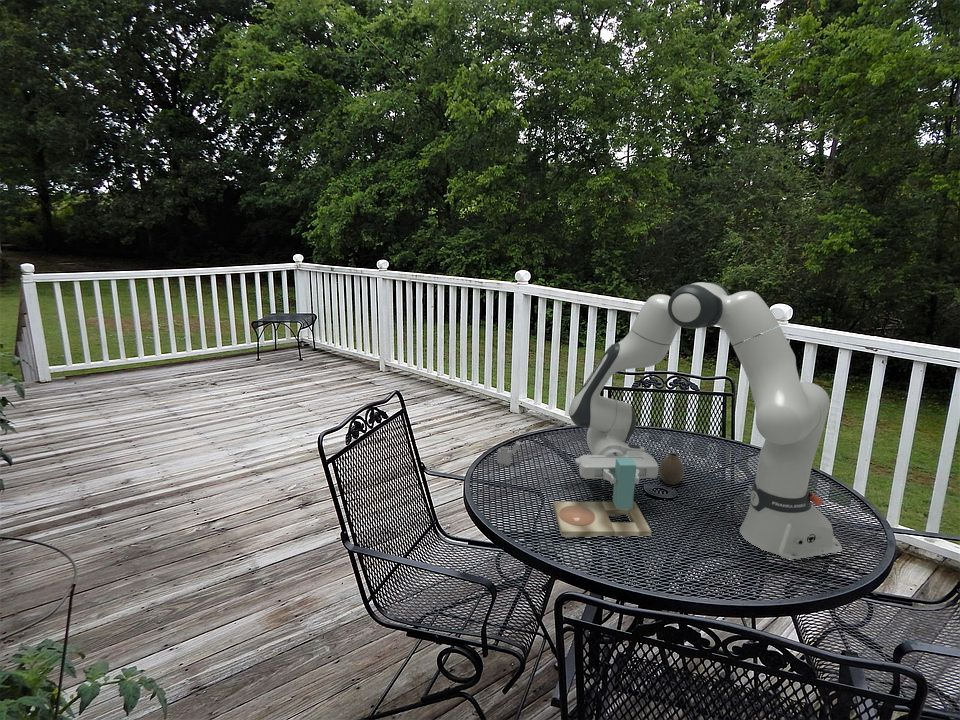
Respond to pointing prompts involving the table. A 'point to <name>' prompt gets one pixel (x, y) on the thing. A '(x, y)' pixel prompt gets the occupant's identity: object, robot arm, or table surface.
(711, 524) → the table surface
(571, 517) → the tan flat disc
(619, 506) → the peg
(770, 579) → the table surface
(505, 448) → the lighter
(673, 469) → the vase
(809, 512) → the robot arm
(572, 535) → the pocket board
